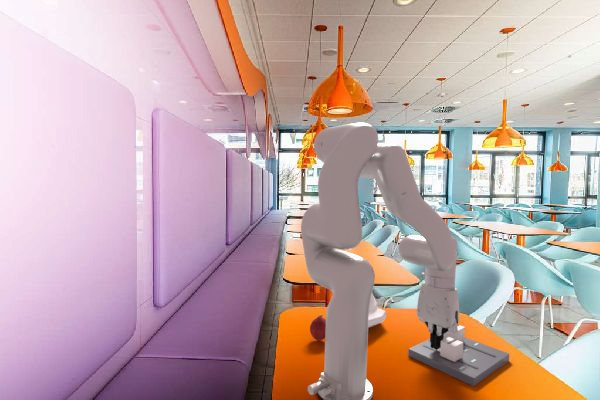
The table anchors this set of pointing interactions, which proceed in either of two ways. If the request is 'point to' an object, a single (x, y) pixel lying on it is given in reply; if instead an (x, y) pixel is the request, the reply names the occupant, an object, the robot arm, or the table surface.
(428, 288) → the robot arm
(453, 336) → the fader
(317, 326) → the onion
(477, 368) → the console
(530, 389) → the table surface
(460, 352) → the fader
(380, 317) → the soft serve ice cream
